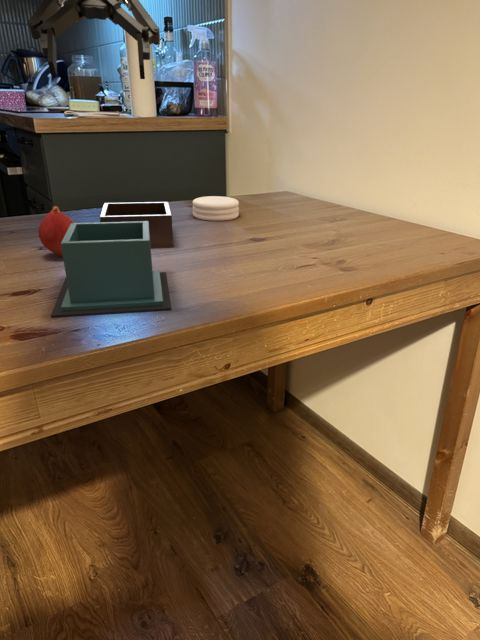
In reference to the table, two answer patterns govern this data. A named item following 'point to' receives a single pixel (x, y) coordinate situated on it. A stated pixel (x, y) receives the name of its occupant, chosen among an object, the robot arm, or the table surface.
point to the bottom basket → (144, 219)
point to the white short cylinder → (215, 208)
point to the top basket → (109, 266)
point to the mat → (165, 307)
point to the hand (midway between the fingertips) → (97, 71)
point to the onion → (54, 230)
